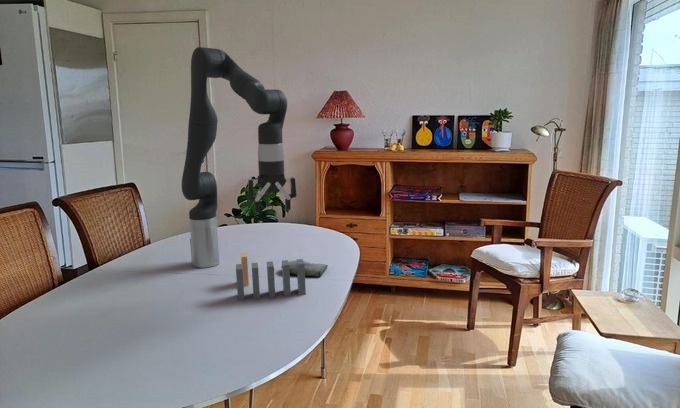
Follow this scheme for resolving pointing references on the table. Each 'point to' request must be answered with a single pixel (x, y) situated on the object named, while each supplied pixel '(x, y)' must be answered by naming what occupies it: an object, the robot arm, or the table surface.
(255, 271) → the domino
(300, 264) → the domino
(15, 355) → the table surface
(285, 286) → the domino
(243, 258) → the domino
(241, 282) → the domino
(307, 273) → the stone
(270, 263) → the domino
